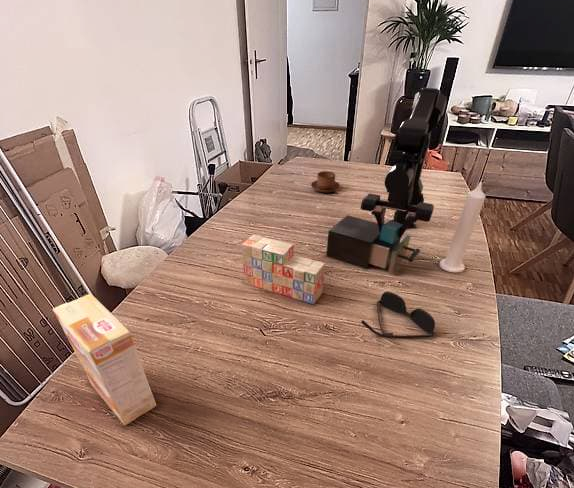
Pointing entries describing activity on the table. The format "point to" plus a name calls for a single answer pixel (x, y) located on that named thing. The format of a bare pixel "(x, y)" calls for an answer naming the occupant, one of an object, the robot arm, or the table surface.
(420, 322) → the sunglasses
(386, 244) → the drawer
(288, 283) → the stack of blocks
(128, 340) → the coffeecake box
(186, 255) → the table surface
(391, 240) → the block
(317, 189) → the cup and saucer
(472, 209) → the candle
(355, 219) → the cabinet
